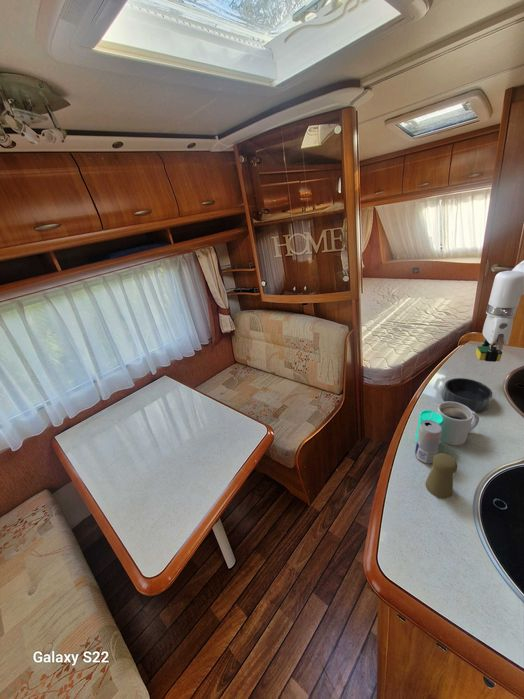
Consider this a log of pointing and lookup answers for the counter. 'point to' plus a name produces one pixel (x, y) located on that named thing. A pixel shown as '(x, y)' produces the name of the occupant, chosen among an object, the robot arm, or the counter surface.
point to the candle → (428, 416)
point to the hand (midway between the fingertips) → (487, 357)
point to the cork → (441, 476)
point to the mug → (456, 422)
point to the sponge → (482, 353)
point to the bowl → (468, 394)
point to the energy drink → (428, 441)
